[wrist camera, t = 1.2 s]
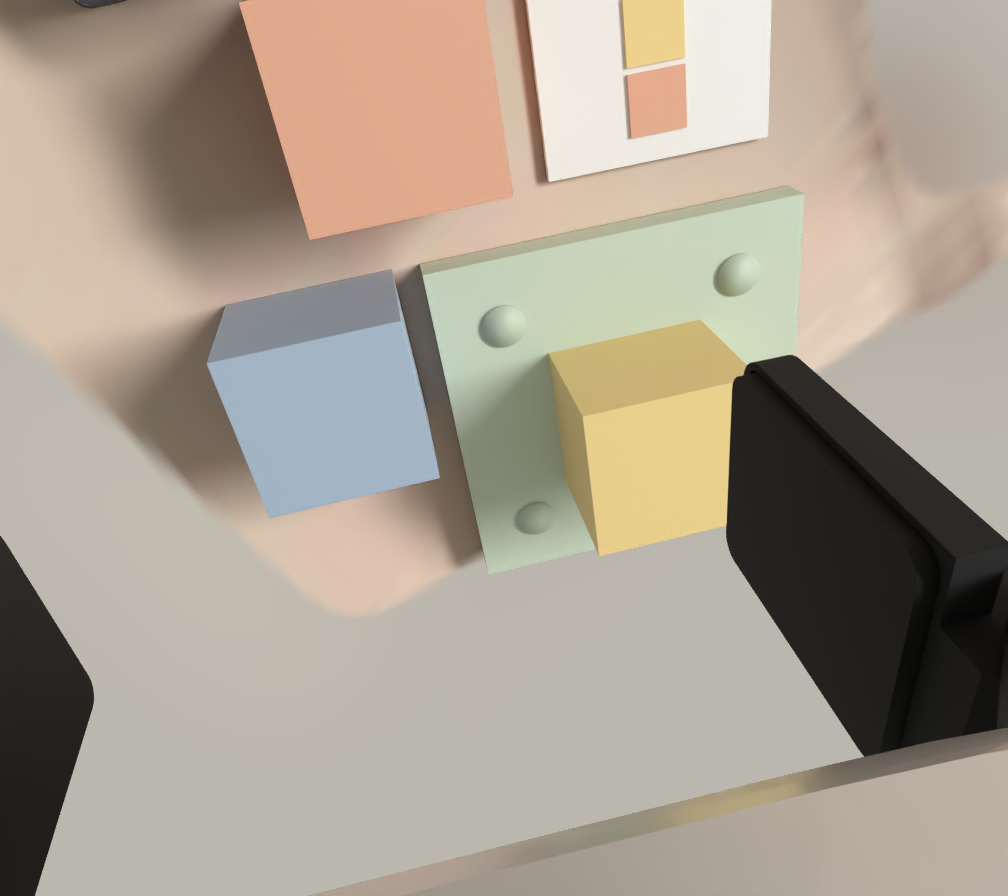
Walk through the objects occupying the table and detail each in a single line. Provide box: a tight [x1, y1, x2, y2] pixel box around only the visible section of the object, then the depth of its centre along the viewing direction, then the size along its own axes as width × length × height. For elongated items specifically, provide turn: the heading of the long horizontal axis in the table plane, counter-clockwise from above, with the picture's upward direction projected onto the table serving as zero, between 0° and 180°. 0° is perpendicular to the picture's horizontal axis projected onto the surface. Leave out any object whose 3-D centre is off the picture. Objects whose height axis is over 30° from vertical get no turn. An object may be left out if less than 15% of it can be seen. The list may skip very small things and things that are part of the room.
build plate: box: [420, 186, 804, 574], centre depth 32 cm, size 14×14×1 cm
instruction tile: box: [525, 0, 771, 182], centre depth 26 cm, size 6×8×1 cm
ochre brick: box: [548, 320, 747, 556], centre depth 30 cm, size 6×6×5 cm
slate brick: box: [207, 269, 440, 518], centre depth 28 cm, size 6×6×5 cm
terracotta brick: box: [239, 0, 514, 240], centre depth 23 cm, size 6×6×5 cm
